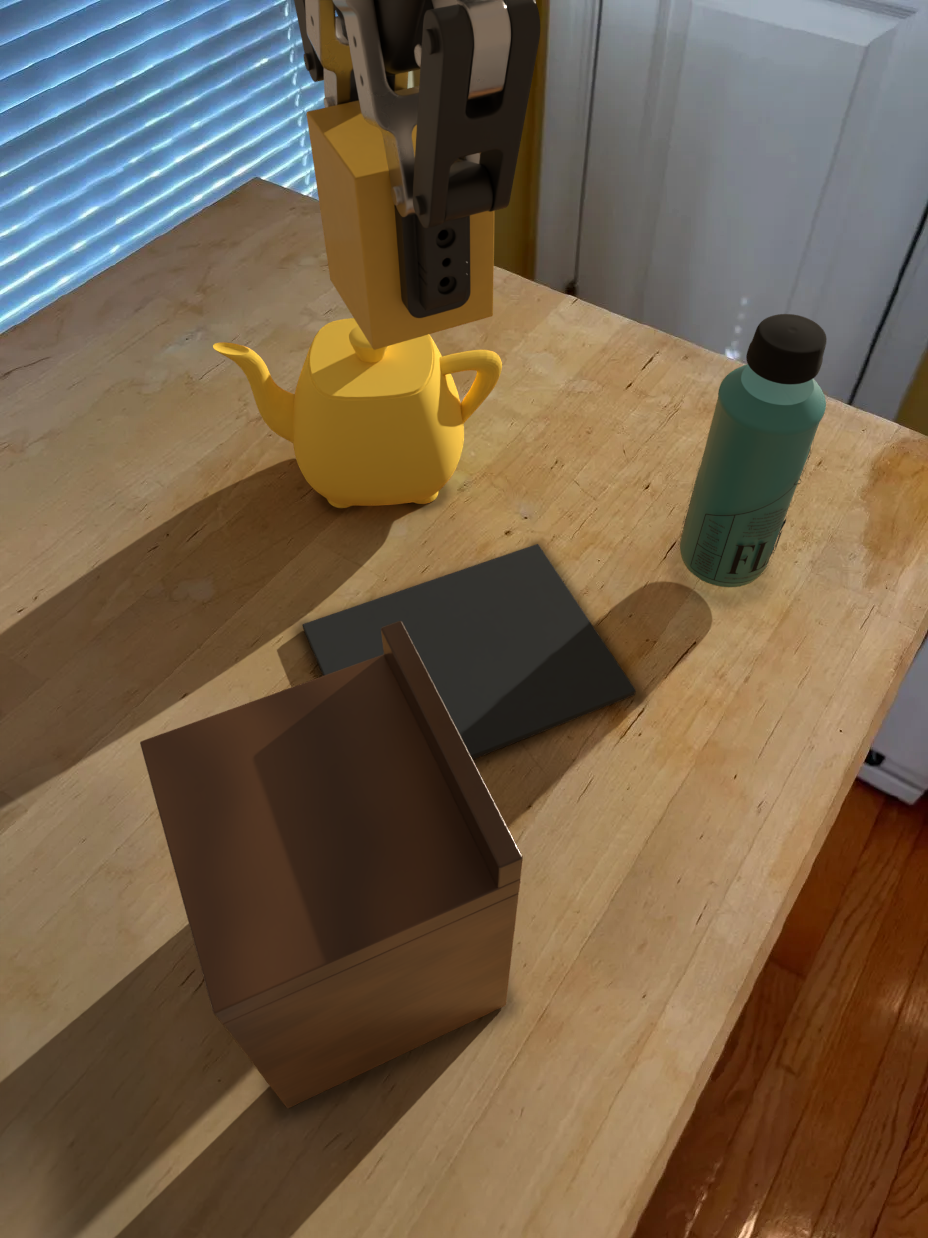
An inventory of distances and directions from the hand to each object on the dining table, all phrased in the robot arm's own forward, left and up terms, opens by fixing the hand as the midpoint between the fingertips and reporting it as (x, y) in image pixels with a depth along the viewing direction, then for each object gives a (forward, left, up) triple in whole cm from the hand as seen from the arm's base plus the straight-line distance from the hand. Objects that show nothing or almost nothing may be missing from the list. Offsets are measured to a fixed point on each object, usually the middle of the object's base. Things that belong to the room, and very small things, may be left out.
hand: (407, 264), depth 32 cm
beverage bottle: (+24, +5, -33) cm, 42 cm away
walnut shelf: (-9, -10, -33) cm, 36 cm away
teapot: (+5, +25, -33) cm, 42 cm away
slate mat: (+4, +5, -33) cm, 34 cm away
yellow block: (0, 0, -1) cm, 1 cm away
